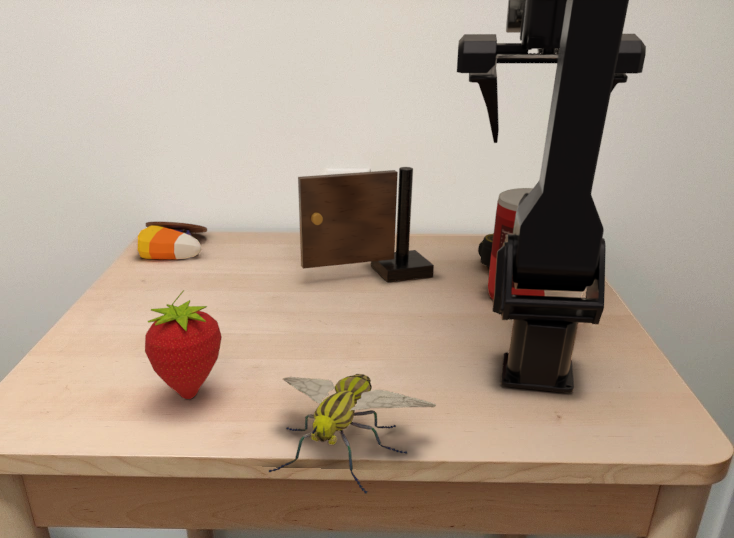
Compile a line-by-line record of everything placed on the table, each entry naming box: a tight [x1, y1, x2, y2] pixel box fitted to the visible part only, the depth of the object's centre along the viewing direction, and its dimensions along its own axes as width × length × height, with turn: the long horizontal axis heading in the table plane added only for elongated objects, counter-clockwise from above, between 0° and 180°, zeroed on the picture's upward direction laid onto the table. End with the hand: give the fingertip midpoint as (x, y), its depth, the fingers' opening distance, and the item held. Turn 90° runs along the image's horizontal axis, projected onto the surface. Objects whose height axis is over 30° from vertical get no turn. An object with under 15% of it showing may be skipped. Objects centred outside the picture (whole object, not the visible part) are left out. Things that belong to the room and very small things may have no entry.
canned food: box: [487, 187, 545, 301], centre depth 83 cm, size 8×8×11 cm
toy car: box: [145, 221, 208, 236], centre depth 101 cm, size 8×8×2 cm
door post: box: [370, 166, 435, 283], centre depth 89 cm, size 6×6×12 cm
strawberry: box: [144, 289, 223, 400], centre depth 63 cm, size 6×8×10 cm
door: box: [297, 169, 399, 269], centre depth 87 cm, size 12×2×10 cm, turn 109°
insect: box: [268, 373, 437, 495], centre depth 59 cm, size 13×11×5 cm
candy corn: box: [136, 226, 202, 260], centre depth 96 cm, size 6×3×8 cm
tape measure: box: [477, 232, 494, 269], centre depth 93 cm, size 7×7×4 cm
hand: (537, 142), depth 84 cm, fingers open, 9 cm apart
